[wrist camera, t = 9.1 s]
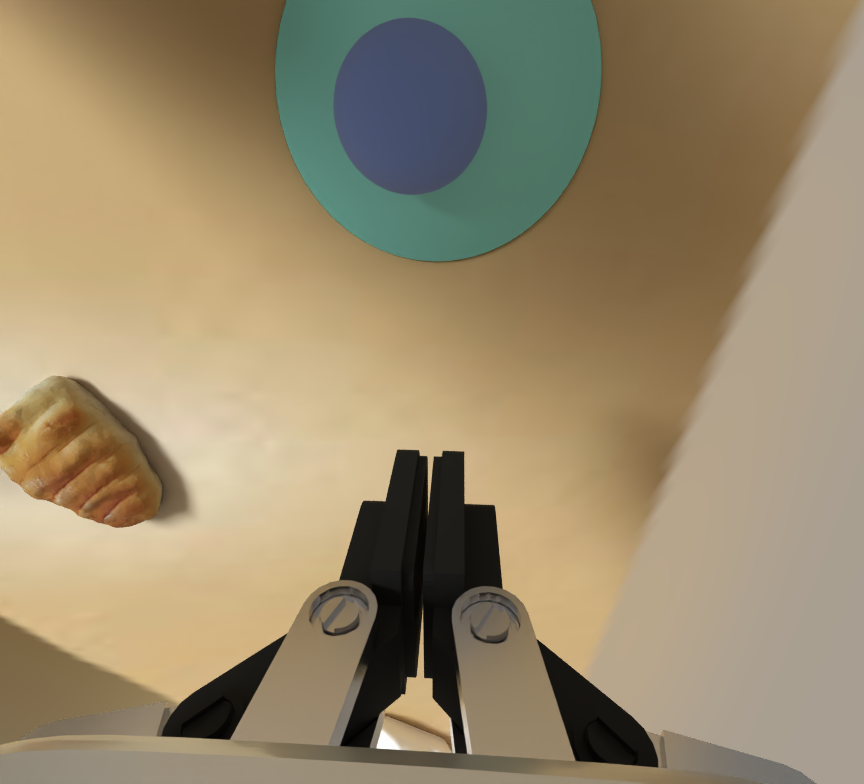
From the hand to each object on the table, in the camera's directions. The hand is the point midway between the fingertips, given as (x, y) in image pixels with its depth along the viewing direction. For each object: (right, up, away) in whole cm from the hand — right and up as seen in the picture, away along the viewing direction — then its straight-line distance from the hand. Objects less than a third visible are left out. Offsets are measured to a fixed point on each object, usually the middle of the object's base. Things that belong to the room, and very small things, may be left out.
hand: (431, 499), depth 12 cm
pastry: (-20, 0, +16) cm, 26 cm away
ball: (-1, +13, +5) cm, 14 cm away
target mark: (0, +15, +7) cm, 16 cm away
